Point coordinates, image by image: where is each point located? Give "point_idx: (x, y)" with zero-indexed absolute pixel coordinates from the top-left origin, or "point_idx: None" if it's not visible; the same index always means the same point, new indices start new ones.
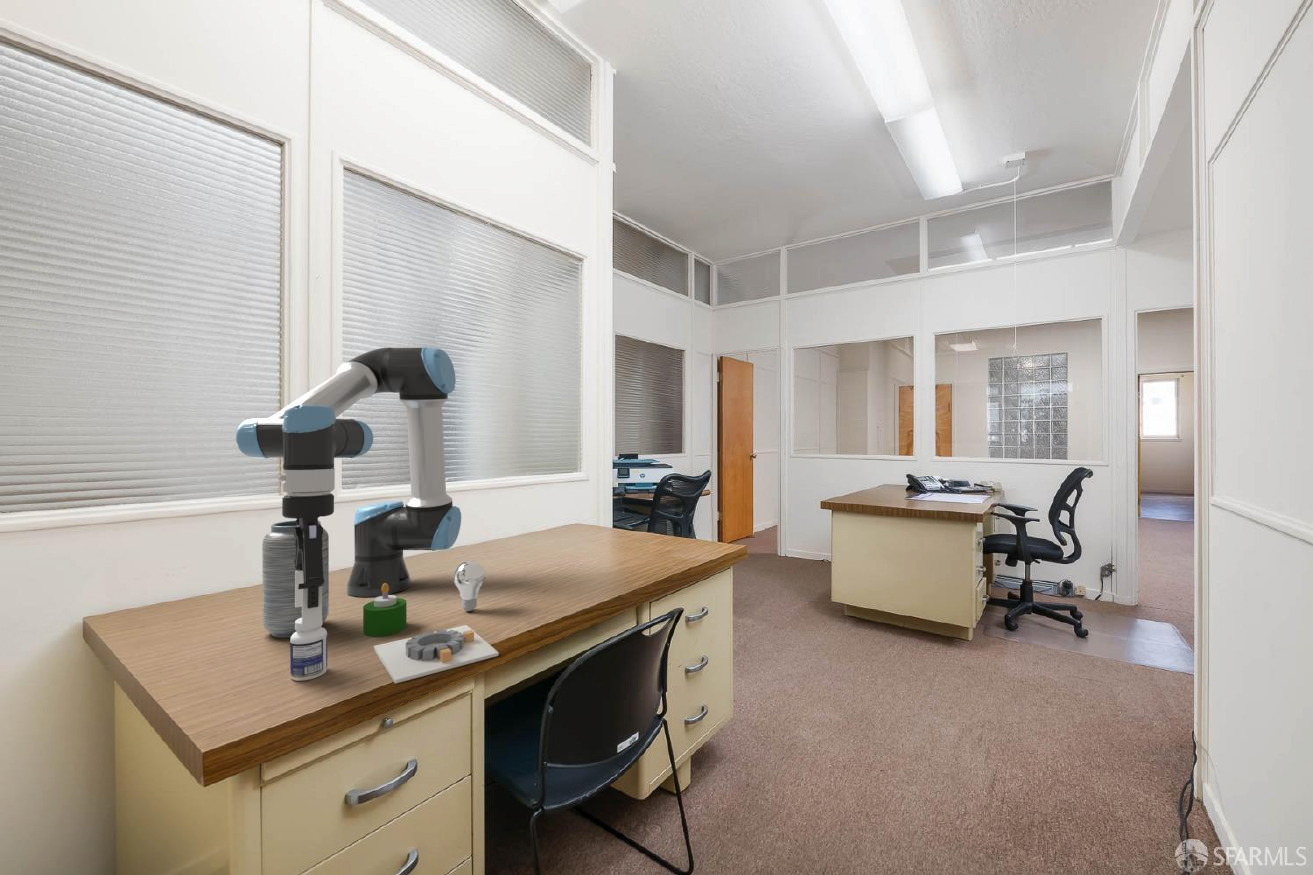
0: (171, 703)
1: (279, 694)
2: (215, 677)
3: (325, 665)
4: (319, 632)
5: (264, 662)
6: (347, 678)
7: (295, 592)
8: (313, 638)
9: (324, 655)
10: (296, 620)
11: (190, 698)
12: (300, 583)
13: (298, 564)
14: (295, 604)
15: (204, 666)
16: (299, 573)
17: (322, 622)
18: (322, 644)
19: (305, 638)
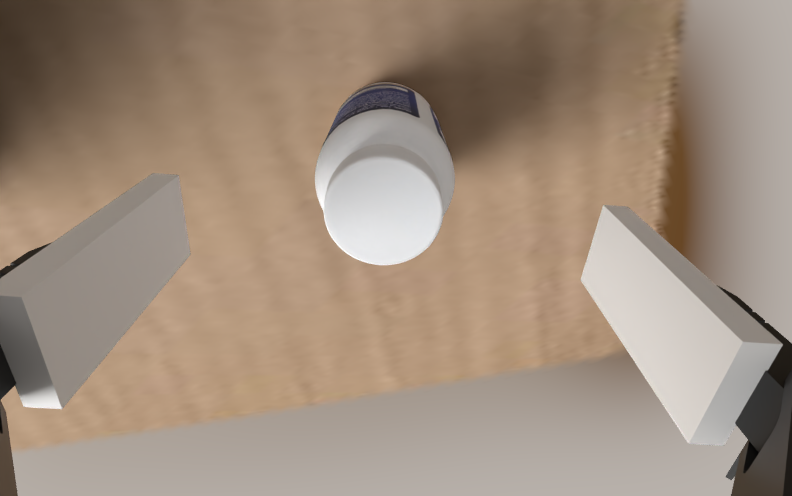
0: (348, 389)
1: (477, 221)
2: (239, 325)
3: (420, 97)
4: (433, 156)
5: (190, 227)
6: (518, 37)
7: (150, 302)
8: (453, 178)
9: (427, 110)
10: (365, 259)
11: (345, 365)
12: (113, 312)
13: (7, 448)
14: (182, 261)
15: (136, 341)
16: (65, 372)
17: (397, 147)
18: (438, 131)
19: (446, 208)
